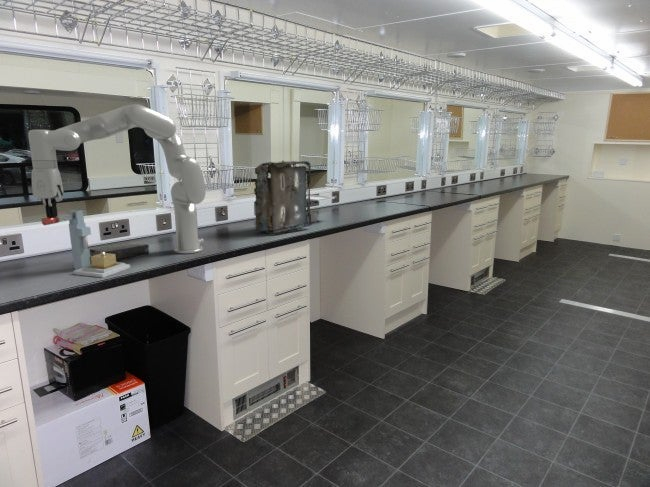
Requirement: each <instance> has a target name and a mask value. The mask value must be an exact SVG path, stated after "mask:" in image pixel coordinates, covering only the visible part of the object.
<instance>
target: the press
mask: <svg viewBox="0 0 650 487" xmlns="http://www.w3.org/2000/svg"><path fill="white" fill-rule="evenodd" d="M72 213H75V218H76V219H73V220H68V222H69V223H68V229H69V238H70V243H71V252H72V259H73V266H74V267H73V268H74V270H73V271H72V272H73V275H78V276H79V275H80V276H87V277H88V276H89V277H94V278H95V277H96V278H105V277H109V276H110V275H115V273H116V274H117V273H119V272H122V271H125V270H127V269H130V268H131V264H129V263H125V262H119V261H116V266H113V267H110V268H107V269H104V270H103V269H94V268H92V264H91V257H90V248H89V240H88V236H90V235H92V232H91V227H90V226H86V225H87V224H86V222H85V216H84V210H83V209H82V210H81V209H80V210H76V209H72V210H67V214H72Z"/></svg>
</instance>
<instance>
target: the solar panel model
mask: <svg viewBox="0 0 650 487" xmlns="http://www.w3.org/2000/svg"><path fill="white" fill-rule="evenodd" d="M306 195H307V196H306V201H307V197H308V193H306ZM334 199H336V196H329V195H327V196H326V195H318V194H316V195H315V194H310V202H313V201H314V202H321V201H329V200H334ZM307 212H308V211H307V210H306V213H307ZM310 214H311V223H315V222H317V221H318V212H317V211H314V210H310ZM307 223H309V216H308V214H307Z"/></svg>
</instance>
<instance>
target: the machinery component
mask: <svg viewBox="0 0 650 487" xmlns="http://www.w3.org/2000/svg"><path fill="white" fill-rule="evenodd" d="M299 164H301V165H302V166H300V165H299ZM297 165H299V166H297ZM304 165H305V166H304ZM311 167H312V166H311V163H310V162H309V161H306V160H305V161H303V160H302V161H297V160H281V161H267V162H266V161H265V162H264V163H263V162H262V163H261V164H260V163H259V165H258V166H256V167H255V168H254V174H255V175H256V180H254V186H255V188H253V194H254V195H255V200H254V205H255V231H260V232H261V233H266V234H269V233H273V234H277V235H278V234H282V233H284V234H288V233H289V231H292V230H294V231H295V230H297V229H298V230H299V229H302V228H305V227H310V226H312V222H311V214H310V211H311V201H310V195H311ZM269 174H270V177H269ZM306 194H308V197H307V200H306V196H307V195H306ZM306 211H308V212H307V213H306ZM296 212H297V213H296ZM307 214H308V216H309V222H307Z"/></svg>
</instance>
